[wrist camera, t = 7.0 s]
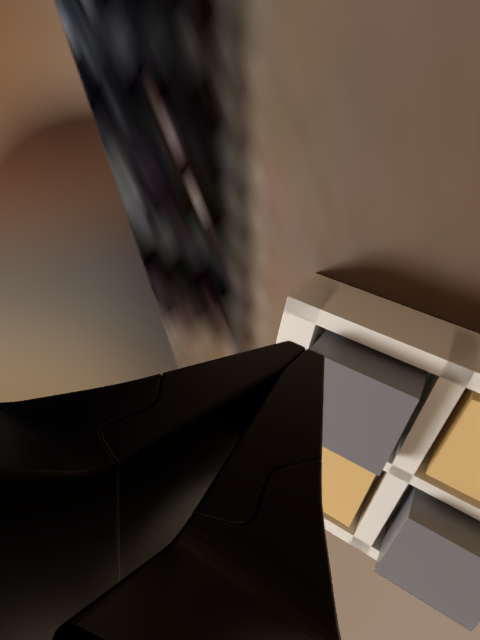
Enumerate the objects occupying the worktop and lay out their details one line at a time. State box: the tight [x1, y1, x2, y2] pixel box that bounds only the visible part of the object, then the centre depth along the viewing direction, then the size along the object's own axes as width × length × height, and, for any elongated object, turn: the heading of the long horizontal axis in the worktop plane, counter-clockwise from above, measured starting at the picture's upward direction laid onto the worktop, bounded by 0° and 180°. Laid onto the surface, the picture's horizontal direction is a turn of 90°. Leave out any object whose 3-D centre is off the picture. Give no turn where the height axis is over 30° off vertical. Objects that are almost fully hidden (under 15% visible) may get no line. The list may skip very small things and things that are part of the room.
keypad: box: [276, 273, 480, 560], centre depth 20 cm, size 15×13×4 cm
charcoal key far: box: [374, 485, 480, 631], centre depth 20 cm, size 5×5×3 cm
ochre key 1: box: [321, 446, 376, 527], centre depth 23 cm, size 5×5×3 cm
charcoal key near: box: [310, 329, 428, 476], centre depth 19 cm, size 5×5×3 cm
